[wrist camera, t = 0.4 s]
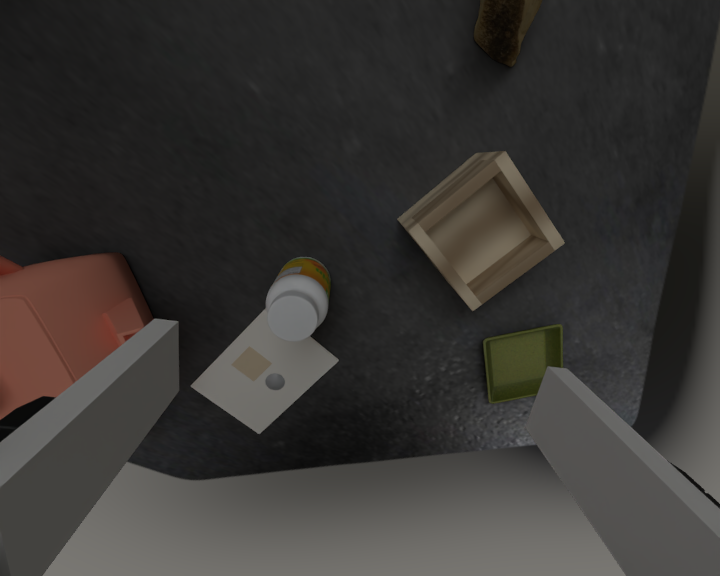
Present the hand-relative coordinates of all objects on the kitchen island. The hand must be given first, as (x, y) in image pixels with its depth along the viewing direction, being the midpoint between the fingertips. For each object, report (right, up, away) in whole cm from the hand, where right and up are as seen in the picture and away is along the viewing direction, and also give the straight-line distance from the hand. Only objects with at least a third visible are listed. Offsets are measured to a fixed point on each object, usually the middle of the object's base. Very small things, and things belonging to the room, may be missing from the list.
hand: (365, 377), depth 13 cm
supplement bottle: (-6, +4, +24) cm, 26 cm away
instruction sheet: (-11, -6, +28) cm, 31 cm away
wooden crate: (+10, +10, +23) cm, 27 cm away
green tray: (+18, -5, +29) cm, 35 cm away
